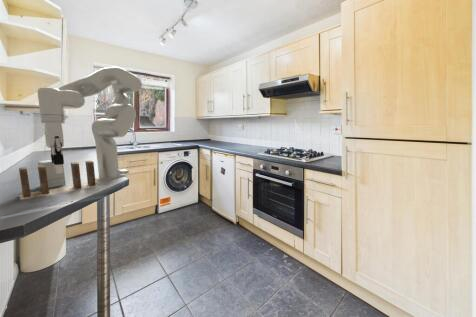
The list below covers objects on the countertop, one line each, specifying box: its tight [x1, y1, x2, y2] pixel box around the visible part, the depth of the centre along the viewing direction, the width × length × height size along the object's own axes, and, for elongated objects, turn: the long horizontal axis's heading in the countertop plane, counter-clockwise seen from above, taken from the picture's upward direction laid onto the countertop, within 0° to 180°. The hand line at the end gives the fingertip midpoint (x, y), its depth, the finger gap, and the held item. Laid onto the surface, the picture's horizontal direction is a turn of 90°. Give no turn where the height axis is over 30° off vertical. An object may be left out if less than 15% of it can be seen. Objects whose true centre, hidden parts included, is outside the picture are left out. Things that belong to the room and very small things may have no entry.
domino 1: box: [37, 165, 50, 195], centre depth 91 cm, size 2×5×11 cm, turn 46°
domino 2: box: [52, 146, 63, 174], centre depth 93 cm, size 2×5×11 cm, turn 46°
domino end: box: [18, 166, 31, 198], centre depth 87 cm, size 2×5×11 cm, turn 46°
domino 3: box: [70, 162, 82, 189], centre depth 98 cm, size 2×5×11 cm, turn 46°
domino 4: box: [84, 160, 97, 186], centre depth 102 cm, size 2×5×11 cm, turn 46°
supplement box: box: [37, 159, 67, 189], centre depth 102 cm, size 7×7×13 cm
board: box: [18, 183, 100, 201], centre depth 95 cm, size 26×9×1 cm, turn 136°
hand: (57, 163), depth 93 cm, fingers closed on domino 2, 5 cm apart
